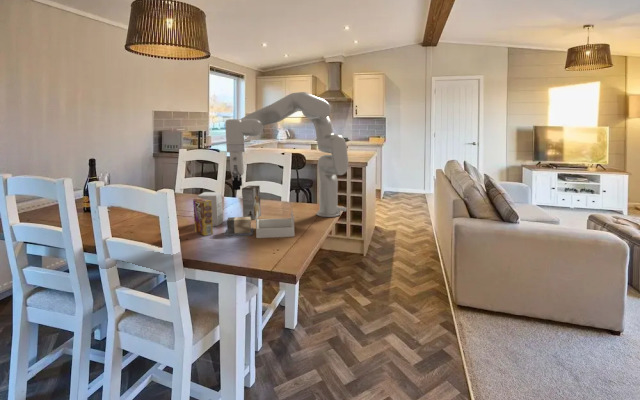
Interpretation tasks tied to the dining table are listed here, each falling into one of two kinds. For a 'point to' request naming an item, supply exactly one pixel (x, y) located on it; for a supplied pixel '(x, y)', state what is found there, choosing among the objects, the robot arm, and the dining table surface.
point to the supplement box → (214, 206)
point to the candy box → (203, 216)
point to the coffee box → (251, 201)
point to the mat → (238, 233)
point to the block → (239, 225)
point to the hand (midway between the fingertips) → (237, 187)
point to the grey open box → (266, 229)
